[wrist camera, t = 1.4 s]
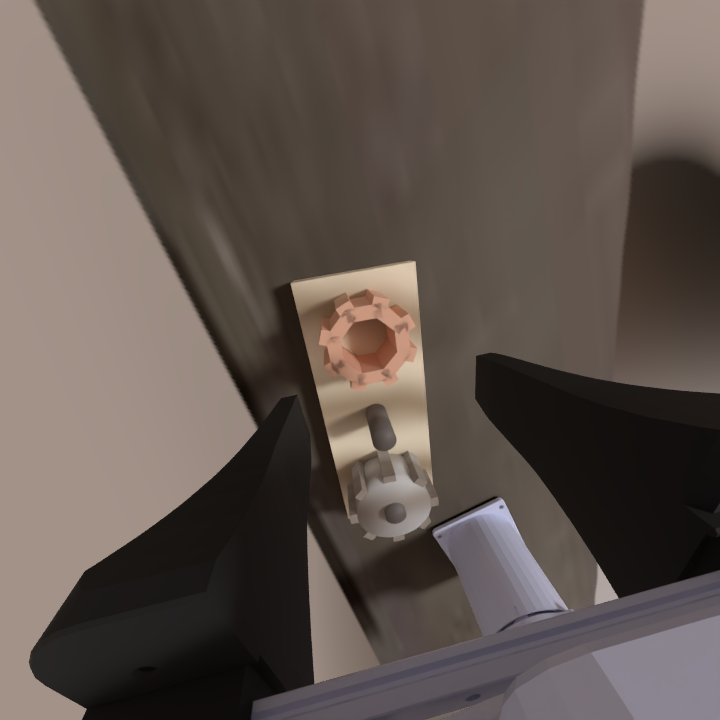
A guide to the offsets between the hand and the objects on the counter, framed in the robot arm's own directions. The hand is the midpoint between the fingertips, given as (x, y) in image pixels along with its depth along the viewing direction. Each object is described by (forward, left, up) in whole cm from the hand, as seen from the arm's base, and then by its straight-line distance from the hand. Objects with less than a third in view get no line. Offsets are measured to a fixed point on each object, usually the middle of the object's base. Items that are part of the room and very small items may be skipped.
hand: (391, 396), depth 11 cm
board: (-6, +2, -10) cm, 12 cm away
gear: (0, 0, -9) cm, 9 cm away
